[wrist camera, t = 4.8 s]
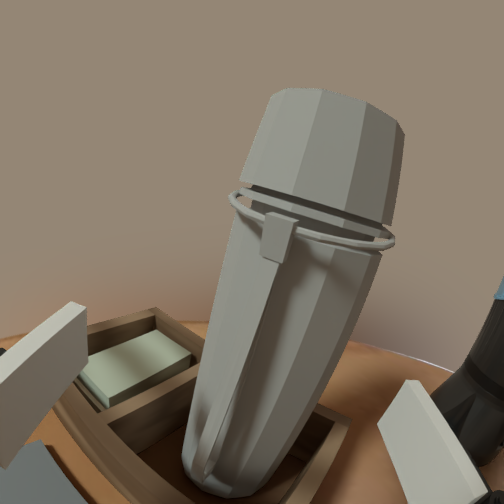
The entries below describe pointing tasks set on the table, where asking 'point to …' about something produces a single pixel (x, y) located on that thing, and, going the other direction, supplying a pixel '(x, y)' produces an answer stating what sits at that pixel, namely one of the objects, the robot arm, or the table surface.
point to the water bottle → (290, 281)
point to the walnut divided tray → (172, 419)
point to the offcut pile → (130, 369)
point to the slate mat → (36, 479)
